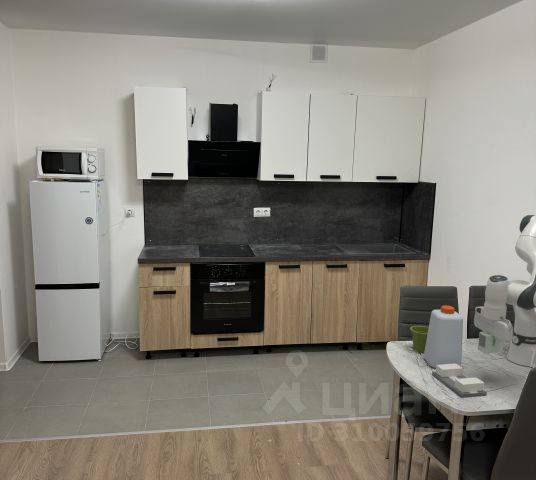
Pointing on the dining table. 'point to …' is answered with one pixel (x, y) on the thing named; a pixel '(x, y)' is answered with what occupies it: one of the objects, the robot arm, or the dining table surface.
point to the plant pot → (419, 338)
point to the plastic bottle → (444, 337)
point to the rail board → (452, 386)
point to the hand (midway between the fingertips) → (491, 343)
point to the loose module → (488, 343)
